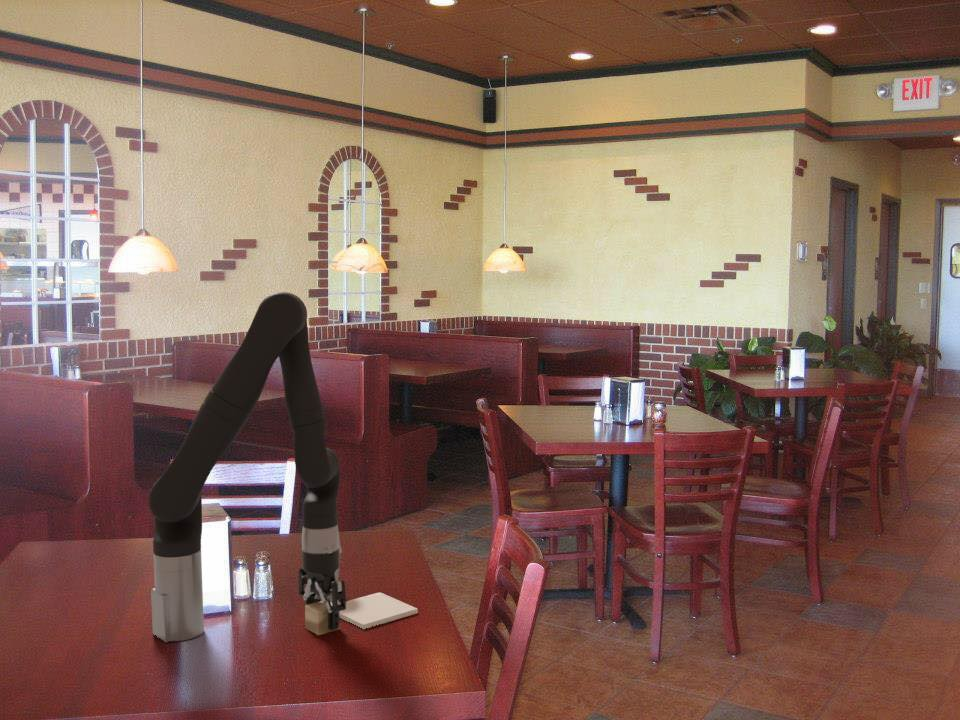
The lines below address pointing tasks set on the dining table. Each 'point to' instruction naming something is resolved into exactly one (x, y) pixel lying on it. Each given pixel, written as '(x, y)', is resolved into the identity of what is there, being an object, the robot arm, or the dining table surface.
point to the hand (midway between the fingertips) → (322, 623)
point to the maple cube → (317, 618)
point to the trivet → (375, 610)
